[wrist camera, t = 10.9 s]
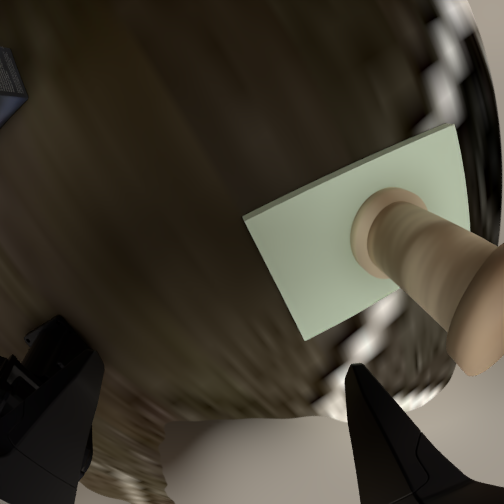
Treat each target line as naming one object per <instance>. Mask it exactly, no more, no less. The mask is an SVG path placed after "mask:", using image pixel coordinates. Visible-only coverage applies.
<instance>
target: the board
mask: <svg viewBox="0 0 504 504" xmlns="http://www.w3.org/2000/svg"><path fill="white" fill-rule="evenodd" d="M388 187H398V188H402V189H405V190H407V191H410V192H412V193H414V194H416V195H417V196H419V197H420V198H421V199H422V200H423V202H424V203H425V205H426V207H427V209H428V211H429V212H431V213H434V214H436V215H438V216H440V217H442V218H444V219H446V220H448V221H450V222H452V223H454V224H456V225H458V226H460V227H462V228H464V229H466V230H468V231H470V221H469V208H468V198H467V190H466V182H465V175H464V169H463V163H462V157H461V152H460V147H459V142H458V138H457V133H456V129H455V125H454V124H443V125H441V126H438V127H436V128H433V129H431V130H428V131H426V132H424V133H421V134H419V135H416V136H414V137H412V138H409V139H407V140H405V141H402V142H400V143H398V144H395V145H393V146H391V147H388V148H386V149H384V150H382V151H379V152H377V153H375V154H373V155H370V156H368V157H366V158H364V159H361V160H359V161H357V162H355V163H353V164H350V165H348V166H346V167H344V168H342V169H339V170H337V171H335V172H333V173H331V174H329V175H326V176H324V177H322V178H320V179H318V180H316V181H314V182H312V183H309V184H307V185H305V186H303V187H301V188H299V189H297V190H295V191H293V192H291V193H289V194H286V195H284V196H282V197H280V198H278V199H276V200H274V201H272V202H270V203H268V204H266V205H264V206H262V207H260V208H258V209H256V210H254V211H252V212H250V213H248V214H246V215H244V216H242V218H243V220H244V222H245V224H246V226H247V228H248V230H249V232H250V234H251V236H252V238H253V239H254V241H255V243H256V245H257V247H258V249H259V251H260V253H261V255H262V257H263V259H264V261H265V263H266V265H267V267H268V269H269V271H270V273H271V275H272V277H273V279H274V281H275V283H276V285H277V287H278V289H279V291H280V293H281V295H282V297H283V299H284V301H285V303H286V305H287V307H288V309H289V311H290V313H291V315H292V317H293V319H294V321H295V323H296V325H297V327H298V329H299V331H300V333H301V335H302V337H303V339H304V341H306V340H308V339H310V338H312V337H314V336H316V335H318V334H320V333H322V332H324V331H326V330H327V329H329V328H331V327H333V326H335V325H337V324H339V323H341V322H343V321H344V320H346V319H348V318H350V317H352V316H353V315H355V314H357V313H359V312H361V311H362V310H364V309H366V308H368V307H369V306H371V305H373V304H374V303H376V302H378V301H380V300H381V299H383V298H385V297H386V296H388V295H390V294H391V293H393V292H394V291H396V290H398V289H399V288H400V287H399V286H398V285H397V284H396V283H395V282H394V281H392V280H391V279H380V278H376V277H374V276H372V275H370V274H369V273H368V272H367V271H366V270H365V269H363V268H362V267H361V266H360V265H359V264H358V262H357V261H356V260H355V258H354V256H353V253H352V250H351V245H350V233H351V227H352V224H353V221H354V218H355V216H356V214H357V212H358V210H359V208H360V207H361V205H362V204H363V203H364V202H365V200H366V199H368V198H369V197H370V196H371V195H372V194H374V193H375V192H377V191H379V190H381V189H384V188H388Z"/></svg>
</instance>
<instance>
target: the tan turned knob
mask: <svg viewBox="0 0 504 504" xmlns="http://www.w3.org/2000/svg"><path fill="white" fill-rule="evenodd" d="M350 245H351V250H352V253H353V256H354V258H355V260H356V261H357V262H358V264H359V265H360V266H361V267H362V268H363V269H365V270H366V271H367V272H368V273H369V274H370V275H372V276H374V277H376V278H380V279H391V280H392V281H394V282H395V283H396V284H397V285H398V286H399V287H400V288H401V289H402V290H404V291H405V292H406V293H407V294H408V295H409V296H410V297H411V298H412V299H413V300H414V301H415V302H417V303H418V304H419V305H420V306H421V307H422V308H423V309H424V310H425V311H426V312H427V313H428V314H429V315H430V316H431V317H432V318H433V319H434V320H435V321H436V322H437V323H439V324H440V325H441V326H442V327H443V328H444V329H445V330H446V331H447V332H448V334H447V340H446V348H447V352H448V354H449V356H450V357H451V358H452V359H453V360H454V361H455V362H456V363H457V364H458V366H459V367H460V368H461V369H462V370H463V371H464V372H465V373H466V374H467V375H468V376H476V375H478V374H481V373H482V372H484V371H486V370H487V369H489V368H490V367H491V366H492V365H494V364H495V363H496V362H497V361H498V360H499V359H500V358H501V357H502V356H503V355H504V243H503V244H502V245H500V246H499V247H497V246H496V245H494V244H492V243H490V242H488V241H487V240H485V239H483V238H481V237H479V236H477V235H476V234H474V233H472V232H470V231H468V230H466V229H464V228H462V227H460V226H458V225H456V224H454V223H452V222H450V221H448V220H446V219H444V218H442V217H440V216H438V215H436V214H434V213H431V212H429V211H428V209H427V207H426V205H425V203H424V202H423V200H422V199H421V198H420V197H419V196H417V195H416V194H414V193H412V192H410V191H407V190H405V189H402V188H398V187H388V188H384V189H381V190H379V191H377V192H375V193H374V194H372V195H371V196H370V197H369V198H368V199H366V200H365V202H364V203H363V204H362V205H361V207H360V208H359V210H358V212H357V214H356V216H355V218H354V221H353V224H352V227H351V233H350Z"/></svg>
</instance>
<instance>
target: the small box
mask: <svg viewBox="0 0 504 504" xmlns="http://www.w3.org/2000/svg"><path fill="white" fill-rule="evenodd" d="M27 99H28V95H27V93H26V90H25V87H24V85H23V82H22V80H21V77H20V74H19V72H18V69H17V67H16V64H15V61H14V58H13V55H12V52H11V50H10V49H9V48H3V47H0V128H1V127H2V125H3V124H4V123H5V122H6V121H7V120H8V119H9V118H10V117H11V116H12V115H13V114H14V113H15V111H16V110H17V109H18V108H19V107H20V106H21V105H22V104H23V103H24V102H25V101H26V100H27Z"/></svg>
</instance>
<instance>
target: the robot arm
mask: <svg viewBox="0 0 504 504" xmlns="http://www.w3.org/2000/svg"><path fill="white" fill-rule="evenodd" d="M59 321H60V322H59ZM24 340H25V342H26V343H27V344H28V345H29V346H30V349H29V351H28V352H27V354H26V356H25V358H24V359H23V361H22V363H20V362H19V361H18V360H17V358H16V357H15V356H14V355H13V354H12V355H11V356H10V357H9V358H8V359H7V358H4V357H1V356H0V504H74V502H75V496H76V491H77V485H78V481H79V480H80V479H81V478H82V477H83V476H84V473H85V472H86V471H87V469H88V468H89V466H90V463H91V460H92V455H93V445H92V422H93V418H94V414H95V411H96V407H97V404H98V399H99V394H100V388H101V383H102V378H103V373H104V364H103V362H102V360H101V358H100V356H99V354H98V353H97V351H95V350H90V349H89V348H88V347H87V346H86V344H85V343H84V342H83V341H82V340H81V339H80V338H79V337H78V335H77V334H76V333H75V332H74V331H73V330H72V328H71V327H70V326H69V325H68V324H67V323H66V321H65V320H64V319H63V318H62V317H61V316H56V317H54V318H52V319H51V320H49V321H47V322H46V323H44V324H43V325H41V326H39V327H38V328H36V329H34V330H33V331H31V332H30V333H28V334H27V335H26V336H25V337H24ZM345 393H346V407H347V421H348V427H349V432H350V438H351V444H352V449H353V455H354V462H355V468H356V474H357V481H358V488H359V495H360V502H361V504H504V487H499V486H494V485H490V484H485V483H481V482H477V481H474V480H472V479H470V478H469V477H467V476H466V475H464V474H463V473H462V472H461V471H460V470H459V469H458V468H457V467H455V466H454V465H453V464H452V463H451V462H450V461H449V460H448V459H447V458H446V457H444V456H443V455H442V454H441V453H440V452H439V451H438V450H437V449H436V448H435V447H434V446H433V445H432V443H431V442H430V441H429V440H428V439H427V438H426V436H425V435H424V434H423V433H422V432H421V431H420V430H419V428H418V427H417V426H416V425H415V424H414V422H413V421H412V420H411V419H410V418H409V417H408V416H407V414H406V413H405V412H404V411H403V410H402V408H401V407H400V406H399V405H398V404H397V403H396V401H395V400H394V399H393V398H392V397H391V396H390V394H389V393H388V392H387V391H386V390H385V389H384V387H383V386H382V385H381V384H380V383H379V382H378V380H377V379H376V378H375V377H374V376H373V375H372V373H371V372H370V371H369V370H368V369H367V368H366V367H365V365H364V364H362V363H356V364H351V365H350V367H349V369H348V372H347V375H346V377H345ZM420 432H421V433H420Z"/></svg>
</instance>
